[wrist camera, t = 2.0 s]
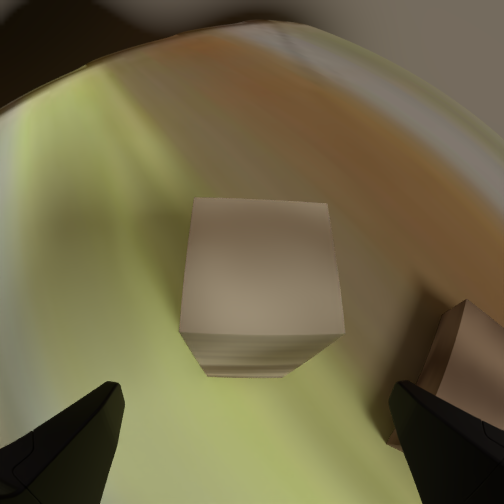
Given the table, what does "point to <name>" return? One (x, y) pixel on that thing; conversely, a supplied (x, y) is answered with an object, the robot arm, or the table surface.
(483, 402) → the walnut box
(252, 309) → the birch block
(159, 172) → the table surface
